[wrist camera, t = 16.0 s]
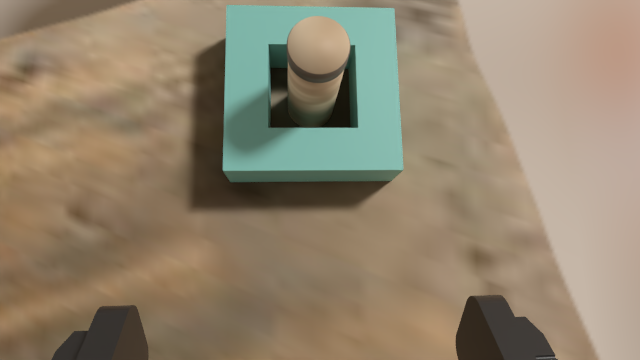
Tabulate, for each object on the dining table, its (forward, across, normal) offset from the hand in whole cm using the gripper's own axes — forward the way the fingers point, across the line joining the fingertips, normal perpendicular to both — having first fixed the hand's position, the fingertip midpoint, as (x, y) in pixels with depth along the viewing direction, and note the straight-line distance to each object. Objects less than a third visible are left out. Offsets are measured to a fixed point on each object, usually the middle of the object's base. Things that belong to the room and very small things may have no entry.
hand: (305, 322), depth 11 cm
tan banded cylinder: (+22, -1, +4) cm, 23 cm away
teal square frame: (+22, -1, +4) cm, 23 cm away
